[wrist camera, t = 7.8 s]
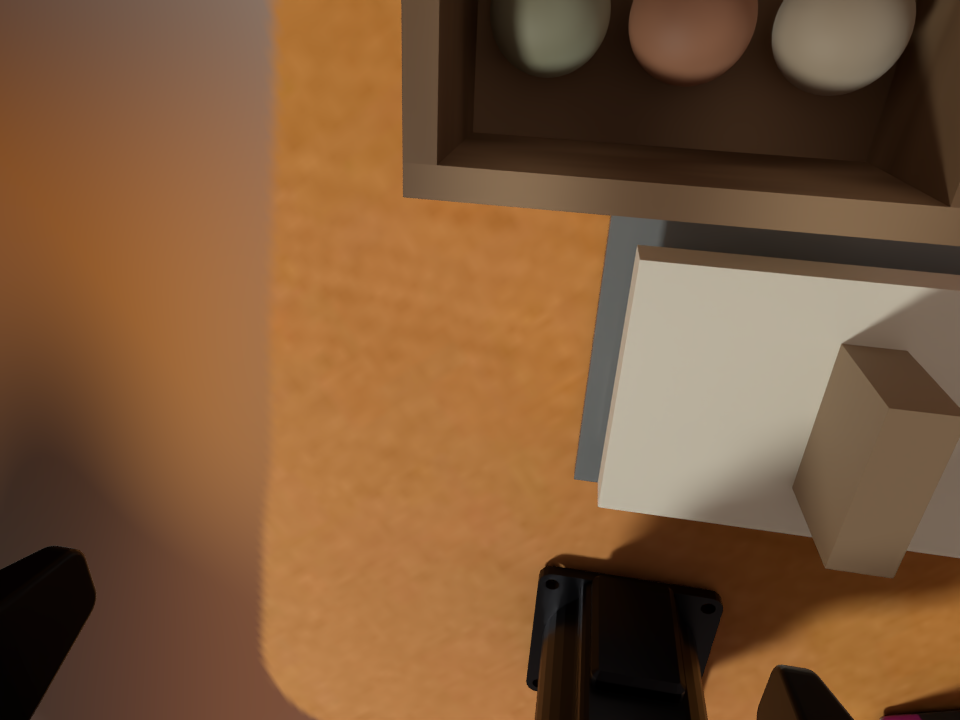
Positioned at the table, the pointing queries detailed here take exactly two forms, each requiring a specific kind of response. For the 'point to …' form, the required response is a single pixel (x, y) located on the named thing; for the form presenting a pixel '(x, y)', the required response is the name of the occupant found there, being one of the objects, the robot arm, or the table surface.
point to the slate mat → (724, 240)
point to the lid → (791, 403)
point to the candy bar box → (926, 716)
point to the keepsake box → (691, 111)
